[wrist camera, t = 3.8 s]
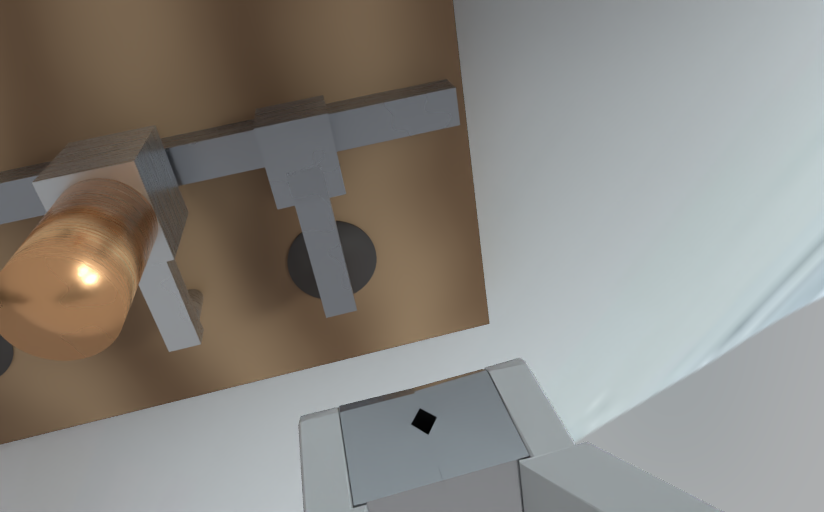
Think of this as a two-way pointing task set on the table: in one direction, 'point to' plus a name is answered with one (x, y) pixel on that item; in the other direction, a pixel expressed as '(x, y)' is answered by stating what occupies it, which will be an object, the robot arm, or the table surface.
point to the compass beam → (287, 163)
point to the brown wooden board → (244, 188)
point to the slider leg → (100, 251)
